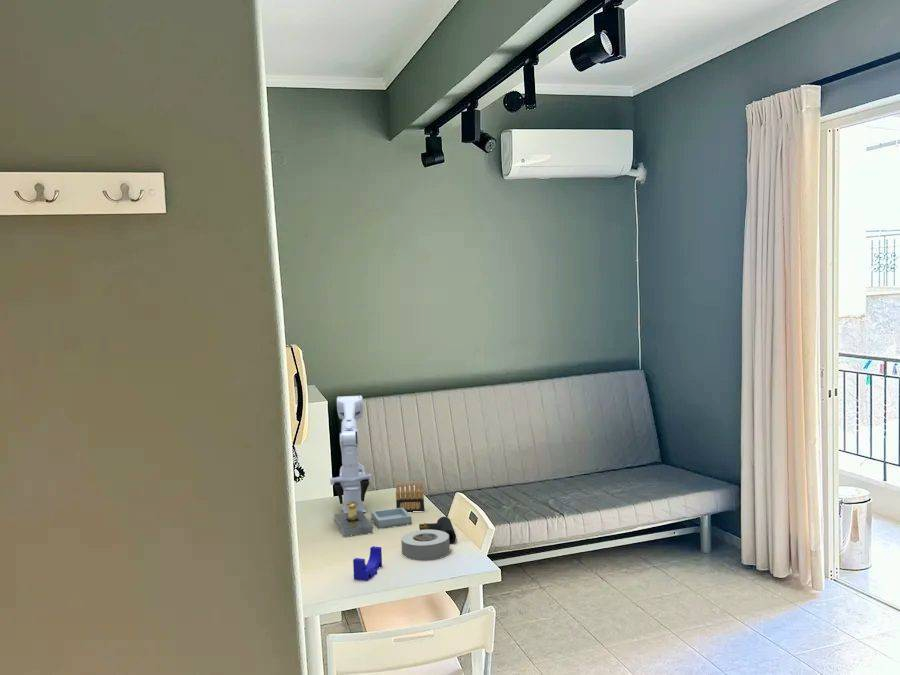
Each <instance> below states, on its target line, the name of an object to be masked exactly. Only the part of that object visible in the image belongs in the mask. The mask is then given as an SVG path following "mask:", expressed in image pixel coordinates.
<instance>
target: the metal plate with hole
mask: <svg viewBox="0 0 900 675" xmlns="http://www.w3.org/2000/svg"><path fill="white" fill-rule="evenodd" d="M333 517H334V519H333V520H334V523H335V525H336V526H337V525H338V526H337V527H339V528H338V529H339V531H340V530H341V531H340V533H341V532H342V533H341V534H343V535H342V536H343V537H344V536H349V537H352V536H351V535H357V536H361V535H360V534H364V535H369V534H368V533H372V534H373V533H374V532H373V525H372V524H371V522H370V521H369V519H368V518H367V516H366V515H365V514H364V513H362V511H357V521H355V522H349V520H348V512H347V513H344V512H342V513H341V512H340V513H334V514H333Z"/></svg>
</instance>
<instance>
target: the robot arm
mask: <svg viewBox="0 0 900 675" xmlns="http://www.w3.org/2000/svg"><path fill="white" fill-rule="evenodd" d="M363 401H364V399H363V396H362V395H347V396H339V395H338V396H337V397H336V411H337V415H338V418H339V420H342V421H341V424H340V426H341V428H340V430H341V431H340V432H339V446H340V452H341V464H342V465H341V466H340V468H339V476H336V477H331V478H329V481H330V482H329V484H330V485H332V486H333V487H334V489H335V492H336V493H337V497H338V500H339V504H340V505H343V506H342V507H341V510H342V511H343V513H347V512H348V507H346V503H347V502H358V506H356V508H357V511H362V513H363V512H365V513H367V510H366V508H365V507H364V501H365V499H366V498H365V497H366V496H365V495H366V493H367V490H368V487H369V485H370V481H372V480H373V479H372V474H371V473H366V467H365V466H364V465H363V464H362V463H360V462H359V450H358V449H359V448H358V447H359V442H360V440H359V438H360V437H359V431H358V421H359V419H361V418H362V417H363V415H364V412H363V411H364V405H363V404H364V403H363ZM363 514H364V513H363Z"/></svg>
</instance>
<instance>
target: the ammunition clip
mask: <svg viewBox="0 0 900 675" xmlns="http://www.w3.org/2000/svg"><path fill="white" fill-rule="evenodd" d="M423 486H424V484H423V481H422V480H420V481H419V483H418V481H417V480H415V482H413V480H411V481H410V485H409V482H408V480H406V482H405V484H404V481H403V480H401V483H399V481H398V480H397V481H396V487H395V503H396V506H395V507H396V508H404V509H405V510H406V511H407V512H412V513H414V512H413V511H425V510H426V508H425V500H424V499H425V498H424V497H425V496H424V495H425V494H424V493H425V492H424V487H423Z"/></svg>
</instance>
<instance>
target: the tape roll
mask: <svg viewBox="0 0 900 675" xmlns="http://www.w3.org/2000/svg"><path fill="white" fill-rule="evenodd" d="M400 540H401V541H400V542H401V554H403V555H404V556H406V557H407V558H406V557H405V558H406V559H409V558H410V560H413V559H414V561H431V560H432V561H433V560H438V559H441V558H440V557H442V556H444V557H446V556H447V554H448V553H450V552H451V548H450V547H451V544H450V542H449V534H448V533H446V532H444V531H440V530H429V529H428V530H420V529H418V530H414V531H410V532H408V533H406V534H404V535H402V536H401V539H400ZM403 555H402V556H403ZM445 555H446V556H445ZM448 555H449V554H448ZM404 556H403V557H404ZM437 558H438V559H437ZM442 558H443V557H442Z"/></svg>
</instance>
